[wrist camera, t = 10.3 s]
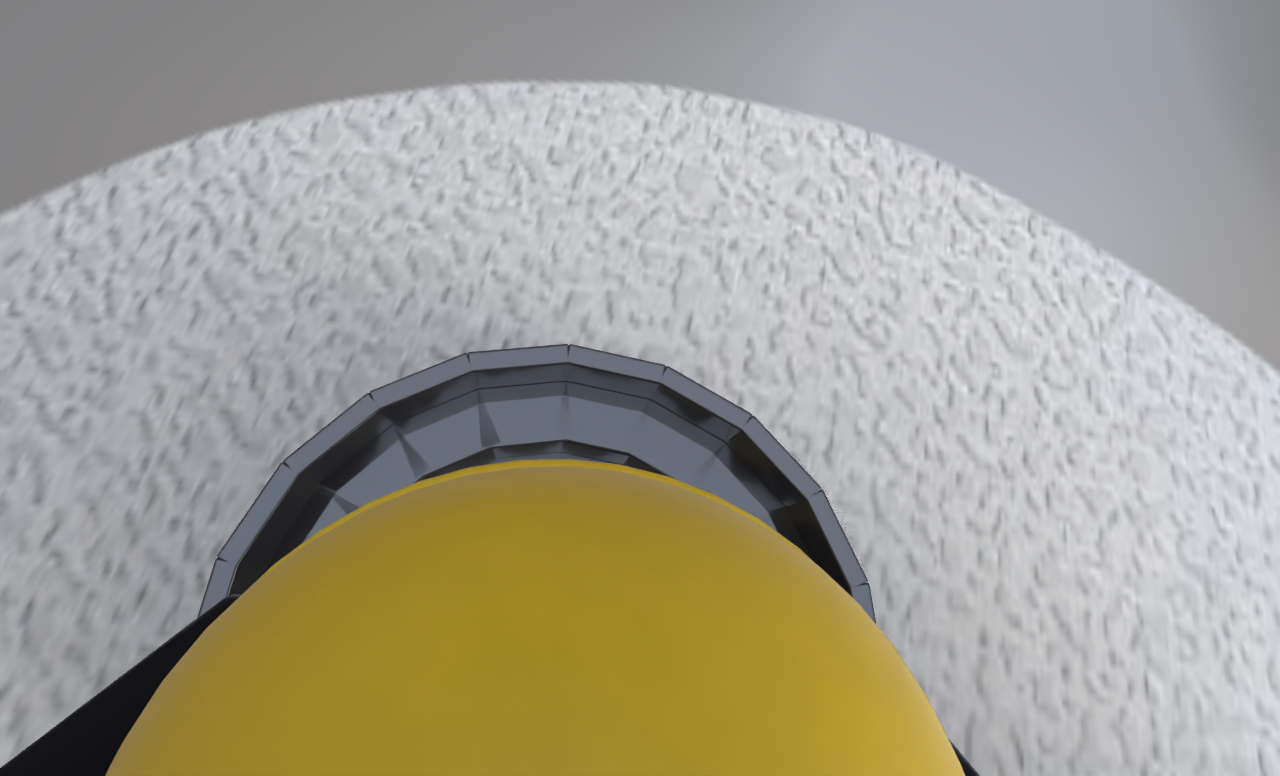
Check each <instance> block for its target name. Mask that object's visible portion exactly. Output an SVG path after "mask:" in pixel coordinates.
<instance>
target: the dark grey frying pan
mask: <svg viewBox="0 0 1280 776" xmlns="http://www.w3.org/2000/svg"><path fill="white" fill-rule="evenodd" d="M540 459H575V460H584V461H593V462H602V463H611V464H620V465H624V466H628V467H632V468H636V469H640V470H644V471H648V472H652V473H657V474H661V475H665V476H669V477H671V478H674V479H676V480H679V481H681V482H684V483H687V484H689V485H692V486H694V487H697V488H699V489H702V490H704V491H707V492H710V493H712V494H715V495H717V496H718V497H720V498H722V499H724V500H726V501H727V502H729V503H731V504H733V505H735V506H737V507H738V508H740V509H742V510H744V511H746V512H748V513H749V514H751V515H753V516H755V517H757V518H758V519H760V520H761V521H763V522H764V523H765V524H767V525H768V526H769V527H771V528H772V529H774V530H775V531H776V532H778V533H779V534H780V535H782V536H783V537H785V538H786V539H787V540H789V541H790V542H791V543H793V544H794V545H796V546H797V547H798V548H799V549H801V550H802V551H803V552H804V553H805V554H806V555H807V556H808V557H809V558H810V559H811V560H812V561H813V562H814V563H816V564H817V565H818V566H819V567H821V568H822V569H823V570H824V571H825V572H826V573H827V574H828V575H829V576H830V577H831V578H832V579H833V580H834V581H835V582H836V583H838V584H839V585H840V586H841V587H842V588H843V589H844V590H845V591H846V592H847V593H848V594H849V595H850V596H851V597H852V598H853V599H855V600H856V601H857V602H858V603H859V605H860V606H861V607H862V608H863V609H864V611H865V612H866V613H867V614H868V615H869V617H870V618H871V619H872V620H873V621H874V623H875V624H876V620H875V614H874V608H873V603H872V597H871V591H870V585H869V583H867V582H868V580H867V578H866V576H865V574H864V572H863V570H862V568H861V566H860V564H859V562H858V560H857V558H856V556H855V554H854V551H853V549H852V547H851V545H850V543H849V541H848V539H847V537H846V535H845V533H844V531H843V529H842V527H841V525H840V523H839V521H838V519H837V517H836V515H835V513H834V511H833V509H832V507H831V505H830V503H829V501H828V499H827V497H826V495H825V493H824V491H823V490H821V487H820V486H819V484H818V483H817V482H816V481H815V480H814V479H813V478H812V477H811V476H810V475H809V474H808V473H807V472H806V471H805V470H804V468H803V467H802V466H801V465H800V464H799V463H798V462H797V461H796V460H795V459H794V458H793V457H792V456H791V455H790V454H789V453H788V451H787V450H786V449H785V448H784V447H783V446H782V445H781V444H780V443H779V442H778V441H777V440H776V439H775V438H774V437H773V435H772V434H771V433H770V432H769V431H768V430H767V429H766V428H765V427H764V426H763V425H762V424H761V423H760V422H759V421H758V419H757V418H756V417H755V416H752V414H751V413H749V412H747V411H746V410H744V409H742V408H740V407H739V406H737V405H735V404H733V403H732V402H730V401H728V400H726V399H725V398H723V397H721V396H719V395H718V394H716V393H714V392H712V391H711V390H709V389H707V388H705V387H704V386H702V385H700V384H698V383H697V382H695V381H693V380H691V379H690V378H688V377H686V376H684V375H683V374H681V373H679V372H677V371H676V370H674V369H672V368H670V367H669V366H665V365H663V364H659V363H654V362H649V361H645V360H640V359H636V358H631V357H627V356H622V355H618V354H613V353H609V352H604V351H600V350H595V349H590V348H586V347H581V346H577V345H572V344H570V345H568V344H560V345H548V346H536V347H525V348H513V349H501V350H489V351H477V352H469V353H468V354H467V353H464V354H462V355H459V356H457V357H454V358H452V359H449V360H447V361H444V362H442V363H439V364H437V365H434V366H432V367H429V368H427V369H424V370H422V371H419V372H417V373H414V374H412V375H409V376H407V377H404V378H402V379H399V380H397V381H394V382H392V383H389V384H387V385H384V386H382V387H379V388H377V389H374V390H372V391H370V393H367V394H365V395H364V396H363V397H362V398H360V399H359V400H358V401H357V402H355V403H354V404H353V405H352V406H350V407H349V408H348V409H347V410H345V411H344V412H343V413H342V414H340V415H339V416H338V417H337V418H335V419H334V420H333V421H332V422H331V423H329V424H328V425H327V426H326V427H324V428H323V429H322V430H321V431H319V432H318V433H317V434H316V435H314V436H313V437H312V438H311V439H309V440H308V441H307V442H306V443H304V444H303V445H302V446H301V447H299V448H298V449H297V450H296V451H294V452H293V453H292V454H291V455H289V456H288V457H287V458H286V459H284V461H283V462H282V463H281V464H280V465H279V466H278V468H277V469H276V471H275V472H274V474H273V475H272V477H271V478H270V480H269V481H268V482H267V484H266V485H265V487H264V488H263V490H262V491H261V493H260V494H259V496H258V497H257V498H256V500H255V501H254V503H253V504H252V506H251V507H250V509H249V510H248V512H247V513H246V514H245V516H244V517H243V519H242V520H241V522H240V523H239V525H238V526H237V528H236V529H235V530H234V532H233V533H232V535H231V536H230V538H229V539H228V541H227V542H226V544H225V545H224V546H223V548H222V549H221V551H220V552H219V554H218V556H217V557H218V558H217V559H216V560H215V563H214V566H213V569H212V572H211V576H210V579H209V582H208V585H207V588H206V591H205V595H204V598H203V601H202V604H201V607H200V610H199V614H198V617H200V616H201V615H202V614H204V613H205V612H206V611H208V610H209V609H210V608H211V607H213V606H214V605H215V604H217V603H218V602H219V601H221V600H222V599H224V598H225V597H227V596H230V595H233V594H239V595H242V594H243V593H244V592H245V591H246V590H247V589H248V588H250V587H251V586H252V585H253V584H254V583H255V582H256V581H257V580H258V579H259V578H260V577H261V576H262V575H263V574H264V573H265V572H266V571H268V570H269V569H270V568H271V567H272V566H273V565H274V564H275V563H277V562H278V561H279V560H281V559H282V558H283V557H285V556H286V555H287V554H289V553H290V552H291V551H293V550H294V549H295V548H297V547H298V546H299V545H301V544H302V543H303V542H305V541H306V540H307V539H309V538H310V537H311V536H313V535H314V534H315V533H317V532H318V531H319V530H321V529H323V528H325V527H326V526H328V525H330V524H332V523H333V522H335V521H337V520H339V519H340V518H342V517H344V516H346V515H347V514H349V513H351V512H353V511H354V510H356V509H358V508H359V507H361V506H363V505H365V504H366V503H368V502H371V501H373V500H375V499H378V498H380V497H383V496H385V495H387V494H390V493H392V492H394V491H397V490H399V489H402V488H404V487H406V486H409V485H411V484H413V483H416V482H418V481H422V480H425V479H429V478H433V477H436V476H440V475H443V474H447V473H451V472H454V471H458V470H461V469H465V468H468V467H475V466H482V465H488V464H495V463H502V462H509V461H516V460H540ZM198 617H197V618H198Z"/></svg>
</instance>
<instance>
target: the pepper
mask: <svg viewBox="0 0 1280 776" xmlns="http://www.w3.org/2000/svg"><path fill="white" fill-rule="evenodd" d="M105 776H965V774H964V771H963V769H962V766H961V764H960V762H959V760H958V758H957V756H956V754H955V752H954V750H953V747H952V745H951V743H950V741H949V739H948V737H947V735H946V733H945V731H944V729H943V727H942V725H941V723H940V721H939V719H938V717H937V715H936V713H935V711H934V709H933V707H932V706H931V704H930V702H929V700H928V699H927V697H926V695H925V693H924V692H923V690H922V689H921V687H920V686H919V684H918V683H917V681H916V680H915V678H914V676H913V675H912V673H911V672H910V670H909V669H908V667H907V666H906V664H905V662H904V661H903V659H902V658H901V656H900V655H899V653H898V652H897V650H896V648H895V647H894V646H893V644H892V643H891V642H890V641H889V639H888V638H887V637H886V636H885V635H884V633H883V632H882V631H881V630H880V629H879V627H878V626H877V625H876V624H875V623H874V621H873V620H872V619H871V618H870V617H869V615H868V614H867V613H866V612H865V611H864V609H863V608H862V607H861V606H860V605H859V603H858V602H857V601H856V600H855V599H853V598H852V597H851V596H850V595H849V594H848V593H847V592H846V591H845V590H844V589H843V588H842V587H841V586H840V585H839V584H838V583H836V582H835V581H834V580H833V579H832V578H831V577H830V576H829V575H828V574H827V573H826V572H825V571H824V570H823V569H822V568H821V567H819V566H818V565H817V564H816V563H814V562H813V561H812V560H811V559H810V558H809V557H808V556H807V555H806V554H805V553H804V552H803V551H802V550H801V549H799V548H798V547H797V546H796V545H794V544H793V543H791V542H790V541H789V540H787V539H786V538H785V537H783V536H782V535H780V534H779V533H778V532H776V531H775V530H774V529H772V528H771V527H769V526H768V525H767V524H765V523H764V522H763V521H761V520H760V519H758V518H757V517H755V516H753V515H751V514H749V513H748V512H746V511H744V510H742V509H740V508H738V507H737V506H735V505H733V504H731V503H729V502H727V501H726V500H724V499H722V498H720V497H718V496H717V495H715V494H712V493H710V492H707V491H704V490H702V489H699V488H697V487H694V486H692V485H689V484H687V483H684V482H681V481H679V480H676V479H674V478H671V477H669V476H665V475H661V474H657V473H652V472H648V471H644V470H640V469H636V468H632V467H628V466H624V465H620V464H611V463H602V462H593V461H584V460H575V459H540V460H516V461H509V462H502V463H495V464H488V465H482V466H475V467H468V468H465V469H461V470H458V471H454V472H451V473H447V474H443V475H440V476H436V477H433V478H429V479H425V480H422V481H418V482H416V483H413V484H411V485H409V486H406V487H404V488H402V489H399V490H397V491H394V492H392V493H390V494H387V495H385V496H383V497H380V498H378V499H375V500H373V501H371V502H368V503H366V504H365V505H363V506H361V507H359V508H358V509H356V510H354V511H353V512H351V513H349V514H347V515H346V516H344V517H342V518H340V519H339V520H337V521H335V522H333V523H332V524H330V525H328V526H326V527H325V528H323V529H321V530H319V531H318V532H317V533H315V534H314V535H313V536H311V537H310V538H309V539H307V540H306V541H305V542H303V543H302V544H301V545H299V546H298V547H297V548H295V549H294V550H293V551H291V552H290V553H289V554H287V555H286V556H285V557H283V558H282V559H281V560H279V561H278V562H277V563H275V564H274V565H273V566H272V567H271V568H270V569H269V570H268V571H266V572H265V573H264V574H263V575H262V576H261V577H260V578H259V579H258V580H257V581H256V582H255V583H254V584H253V585H252V586H251V587H250V588H248V589H247V590H246V591H245V592H244V593H243V594H242V595H241V596H240V597H239V598H238V599H237V600H236V601H235V602H234V603H233V604H232V605H231V606H229V607H228V608H227V609H226V610H225V611H224V612H223V613H222V614H221V615H220V616H219V617H218V618H217V619H216V620H215V621H214V622H213V623H212V624H211V625H209V626H208V627H207V628H206V629H205V631H204V632H203V633H202V634H201V635H200V637H199V638H198V639H197V640H196V641H195V643H194V644H193V645H192V646H191V647H190V649H189V650H188V651H187V652H186V653H185V655H184V656H183V657H182V658H181V659H180V661H179V662H178V663H177V664H176V665H175V667H174V668H173V669H172V670H171V671H170V673H169V674H168V675H167V676H166V677H165V679H164V680H163V681H162V683H161V684H160V686H159V687H158V689H157V690H156V692H155V693H154V695H153V696H152V698H151V700H150V701H149V703H148V704H147V706H146V707H145V709H144V710H143V712H142V713H141V715H140V716H139V718H138V719H137V721H136V722H135V724H134V725H133V727H132V729H131V730H130V732H129V733H128V735H127V736H126V738H125V740H124V741H123V743H122V745H121V747H120V748H119V750H118V752H117V754H116V756H115V757H114V759H113V761H112V763H111V765H110V767H109V769H108V771H107V773H106V775H105Z"/></svg>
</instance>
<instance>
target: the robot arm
mask: <svg viewBox="0 0 1280 776" xmlns="http://www.w3.org/2000/svg"><path fill="white" fill-rule="evenodd" d="M240 596H241V595H239V594H233V595H230V596H227V597H225V598H224V599H222V600H221V601H219V602H218V603H217V604H215V605H214V606H213V607H211V608H210V609H209V610H208V611H206V612H205V613H204V614H202V615H201V616H200V617H198V618H197V619H196V620H194V621H193V622H192V623H190V624H189V625H188V626H187V627H185V628H184V629H183V630H181V631H180V632H179V633H177V634H176V635H175V636H173V637H172V638H171V639H169V640H168V641H167V642H165V643H164V644H163V645H162V646H160V647H159V648H158V649H156V650H155V651H154V652H152V653H151V654H150V655H148V656H147V657H146V658H144V659H143V660H142V661H140V662H139V663H138V664H137V665H135V666H134V667H133V668H131V669H130V670H129V671H127V672H126V673H125V674H123V675H122V676H121V677H119V678H118V679H117V680H116V681H114V682H113V683H112V684H110V685H109V686H108V687H106V688H105V689H104V690H102V691H101V692H100V693H98V694H97V695H96V696H94V697H93V698H92V699H91V700H89V701H88V702H87V703H85V704H84V705H83V706H81V707H80V708H79V709H77V710H76V711H75V712H73V713H72V714H71V715H70V716H68V717H67V718H66V719H64V720H63V721H62V722H60V723H59V724H58V725H56V726H55V727H54V728H52V729H51V730H50V731H48V732H47V733H46V734H45V735H43V736H42V737H41V738H39V739H38V740H37V741H35V742H34V743H33V744H31V745H30V746H29V747H27V748H26V749H25V750H23V751H22V752H21V753H20V754H18V755H17V756H16V757H14V758H13V759H12V760H10V761H9V762H8V763H6V764H5V765H4V766H2V767H1V768H0V776H105V775H106V773H107V771H108V769H109V767H110V765H111V763H112V761H113V759H114V757H115V756H116V754H117V752H118V750H119V748H120V747H121V745H122V743H123V741H124V740H125V738H126V736H127V735H128V733H129V732H130V730H131V729H132V727H133V725H134V724H135V722H136V721H137V719H138V718H139V716H140V715H141V713H142V712H143V710H144V709H145V707H146V706H147V704H148V703H149V701H150V700H151V698H152V696H153V695H154V693H155V692H156V690H157V689H158V687H159V686H160V684H161V683H162V681H163V680H164V679H165V677H166V676H167V675H168V674H169V673H170V671H171V670H172V669H173V668H174V667H175V665H176V664H177V663H178V662H179V661H180V659H181V658H182V657H183V656H184V655H185V653H186V652H187V651H188V650H189V649H190V647H191V646H192V645H193V644H194V643H195V641H196V640H197V639H198V638H199V637H200V635H201V634H202V633H203V632H204V631H205V629H206V628H207V627H208V626H209V625H211V624H212V623H213V622H214V621H215V620H216V619H217V618H218V617H219V616H220V615H221V614H222V613H223V612H224V611H225V610H226V609H227V608H228V607H229V606H231V605H232V604H233V603H234V602H235V601H236V600H237V599H238V598H239V597H240ZM949 741H950V740H949ZM950 743H951V745H952V747H953V750H954V752H955V754H956V756H957V758H958V760H959V762H960V764H961V766H962V769H963V771H964V774H965V776H980V775H979V774H978V773H977V772H976V771H975V769H974V768H973V767H972V766H971V765H970V763H969V762H968V761H967V760H966V759H965V758H964V756H963V755H962V754H961V753H960V752H959V750H958V749H957V748H956V747H955V746H954V745H953V743H952V742H951V741H950Z"/></svg>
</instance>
